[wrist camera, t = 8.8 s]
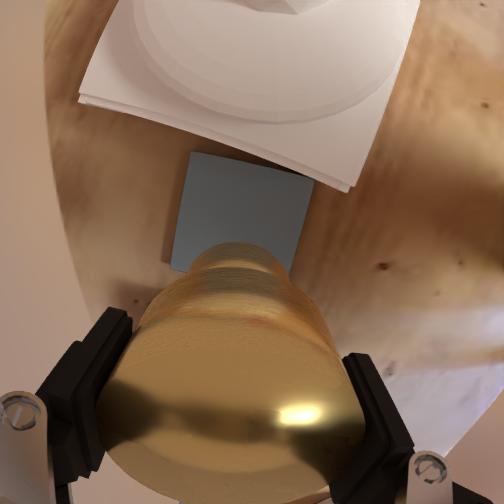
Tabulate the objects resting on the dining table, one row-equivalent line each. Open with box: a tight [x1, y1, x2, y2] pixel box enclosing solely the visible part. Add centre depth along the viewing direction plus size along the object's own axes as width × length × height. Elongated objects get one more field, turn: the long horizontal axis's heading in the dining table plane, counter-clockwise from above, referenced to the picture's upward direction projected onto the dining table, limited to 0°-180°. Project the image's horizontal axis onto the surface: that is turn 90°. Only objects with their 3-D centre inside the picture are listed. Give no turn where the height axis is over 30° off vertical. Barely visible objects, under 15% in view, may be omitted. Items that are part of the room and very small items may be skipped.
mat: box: [170, 151, 315, 276], centre depth 26 cm, size 10×10×1 cm
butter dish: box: [78, 0, 420, 193], centre depth 15 cm, size 18×18×16 cm
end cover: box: [95, 242, 365, 504], centre depth 11 cm, size 6×6×9 cm
